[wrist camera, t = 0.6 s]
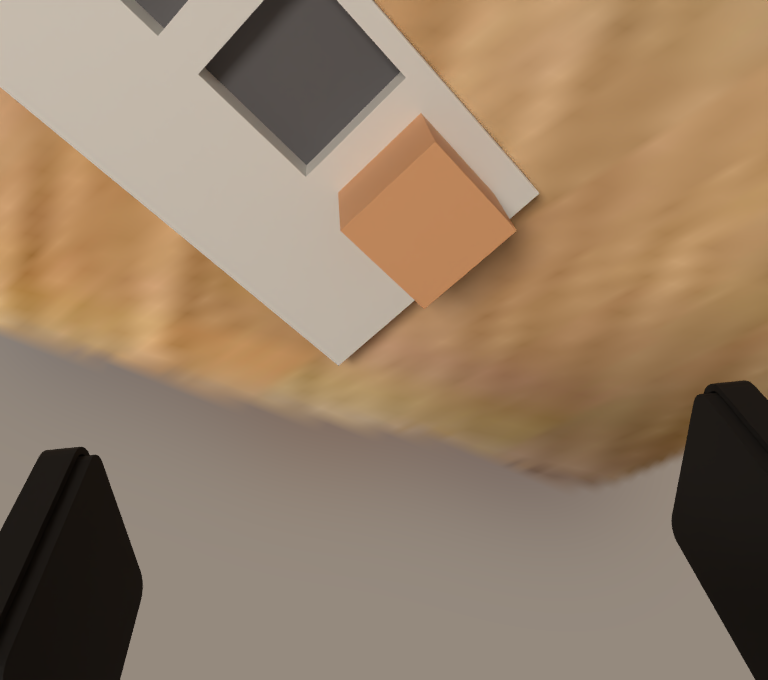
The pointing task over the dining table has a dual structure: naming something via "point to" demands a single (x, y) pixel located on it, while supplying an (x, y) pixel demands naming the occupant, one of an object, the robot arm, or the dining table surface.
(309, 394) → the dining table surface
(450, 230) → the block
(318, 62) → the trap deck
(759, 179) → the dining table surface
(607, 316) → the dining table surface
